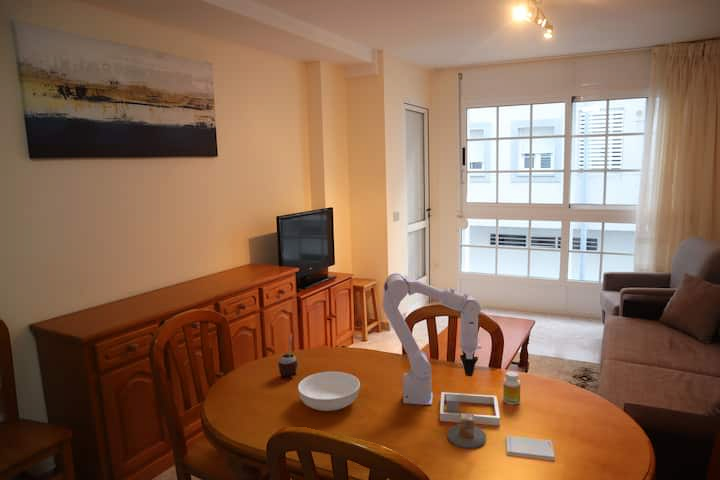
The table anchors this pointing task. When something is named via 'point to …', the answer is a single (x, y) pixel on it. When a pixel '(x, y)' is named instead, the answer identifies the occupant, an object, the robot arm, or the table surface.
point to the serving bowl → (329, 390)
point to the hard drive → (529, 448)
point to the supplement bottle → (511, 388)
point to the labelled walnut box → (466, 425)
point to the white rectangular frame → (477, 418)
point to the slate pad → (467, 443)
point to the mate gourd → (288, 364)
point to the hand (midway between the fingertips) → (468, 370)
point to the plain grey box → (453, 403)
